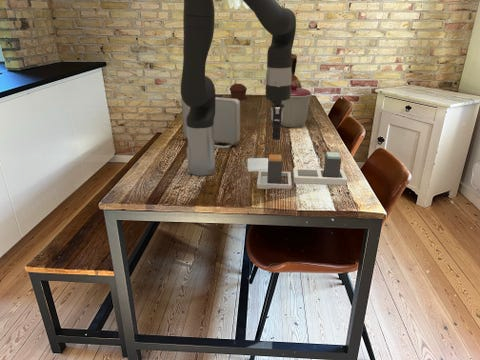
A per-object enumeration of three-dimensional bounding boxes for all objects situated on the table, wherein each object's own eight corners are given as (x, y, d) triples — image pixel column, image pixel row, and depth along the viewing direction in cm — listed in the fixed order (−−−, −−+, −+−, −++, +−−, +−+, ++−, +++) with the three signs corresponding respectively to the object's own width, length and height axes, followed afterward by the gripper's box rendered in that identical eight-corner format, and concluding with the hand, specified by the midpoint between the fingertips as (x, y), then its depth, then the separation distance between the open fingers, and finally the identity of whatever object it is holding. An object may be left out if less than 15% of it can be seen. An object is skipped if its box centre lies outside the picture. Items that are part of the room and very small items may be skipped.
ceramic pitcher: (266, 104, 224) (268, 54, 212) (276, 98, 241) (278, 51, 229) (297, 107, 217) (300, 55, 205) (304, 100, 234) (308, 52, 222)
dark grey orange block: (267, 184, 117) (268, 159, 113) (267, 178, 121) (268, 154, 117) (280, 185, 116) (282, 159, 113) (280, 179, 120) (282, 154, 117)
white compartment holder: (293, 185, 117) (294, 177, 116) (292, 175, 125) (293, 167, 123) (346, 188, 116) (347, 179, 114) (342, 177, 123) (343, 169, 122)
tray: (256, 190, 114) (256, 184, 114) (258, 176, 124) (258, 170, 123) (291, 191, 113) (291, 185, 113) (290, 177, 123) (290, 171, 122)
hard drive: (247, 158, 137) (247, 170, 126) (268, 158, 137) (270, 170, 126) (247, 162, 138) (247, 174, 127) (268, 162, 138) (270, 174, 127)
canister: (280, 131, 172) (282, 87, 164) (269, 121, 189) (271, 80, 180) (315, 129, 176) (319, 85, 167) (302, 119, 192) (304, 79, 183)
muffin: (249, 98, 241) (249, 83, 237) (243, 101, 232) (243, 86, 228) (233, 96, 245) (232, 82, 241) (226, 100, 236) (226, 84, 232)
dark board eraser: (324, 181, 118) (327, 156, 114) (323, 176, 122) (325, 151, 118) (338, 182, 117) (341, 157, 113) (336, 176, 121) (339, 152, 117)
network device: (181, 142, 157) (178, 97, 149) (191, 136, 165) (188, 93, 156) (234, 149, 149) (234, 102, 140) (242, 143, 156) (242, 97, 148)
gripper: (266, 78, 112) (265, 128, 119) (264, 86, 99) (263, 142, 106) (290, 78, 111) (287, 129, 118) (291, 87, 98) (288, 142, 105)
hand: (276, 135), depth 112 cm, fingers open, 8 cm apart
